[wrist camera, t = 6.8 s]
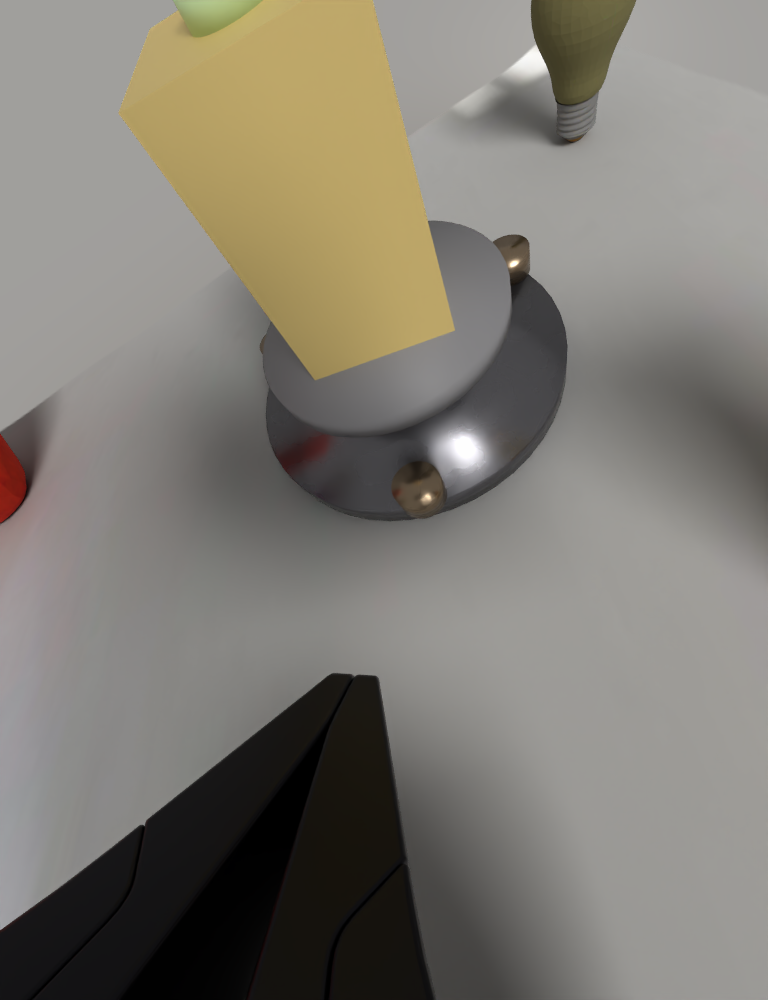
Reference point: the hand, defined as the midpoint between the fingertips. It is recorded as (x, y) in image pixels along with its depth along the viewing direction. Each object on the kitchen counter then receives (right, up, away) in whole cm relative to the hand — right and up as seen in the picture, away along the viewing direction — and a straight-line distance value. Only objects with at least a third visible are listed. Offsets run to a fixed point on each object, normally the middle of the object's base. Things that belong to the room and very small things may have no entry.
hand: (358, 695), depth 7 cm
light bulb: (+14, +29, +22) cm, 39 cm away
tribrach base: (+2, +11, +19) cm, 21 cm away
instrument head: (+1, +12, +15) cm, 19 cm away
